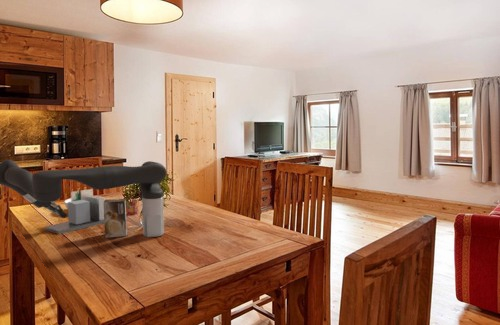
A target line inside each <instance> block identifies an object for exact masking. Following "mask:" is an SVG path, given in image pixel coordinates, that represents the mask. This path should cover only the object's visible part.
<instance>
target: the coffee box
mask: <svg viewBox="0 0 500 325" xmlns="http://www.w3.org/2000/svg"><path fill="white" fill-rule="evenodd" d="M127 223H128V222H127V213H126V199H124V198H115V199H114V198H113V199H112V198H110V199H109V198H108V199H105V200H104V223H103V224H104V238H105V239H106V238H107V239H109V238H117V237H127V234H128V229H127Z"/></svg>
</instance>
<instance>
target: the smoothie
mask: <svg viewBox="0 0 500 325" xmlns="http://www.w3.org/2000/svg"><path fill="white" fill-rule="evenodd" d="M139 202H140V200H139V201H138V200H133V201H132V202H131V200H130V202H126V215H129V216H134V215H137V214H138V212H139V204H140V203H139Z"/></svg>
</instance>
